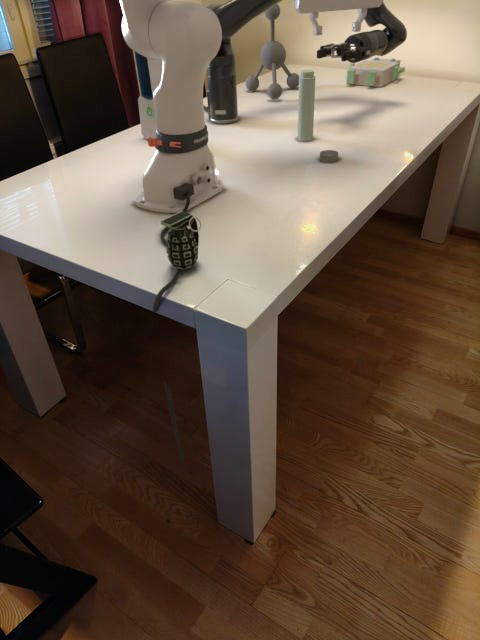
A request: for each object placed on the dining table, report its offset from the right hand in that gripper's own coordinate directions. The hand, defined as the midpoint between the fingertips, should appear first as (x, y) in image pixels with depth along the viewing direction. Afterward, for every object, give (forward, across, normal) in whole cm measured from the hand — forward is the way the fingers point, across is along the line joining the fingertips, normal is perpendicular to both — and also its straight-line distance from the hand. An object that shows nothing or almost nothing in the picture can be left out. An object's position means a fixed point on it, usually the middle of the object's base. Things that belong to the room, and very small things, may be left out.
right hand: (330, 55), depth 139 cm
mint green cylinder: (+10, 0, +21) cm, 23 cm away
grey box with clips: (-64, -22, +21) cm, 70 cm away
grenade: (+82, +27, +21) cm, 88 cm away
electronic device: (+36, -36, +21) cm, 55 cm away
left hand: (+20, +16, -9) cm, 27 cm away
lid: (+20, +16, +19) cm, 32 cm away
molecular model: (-28, -44, +21) cm, 56 cm away
